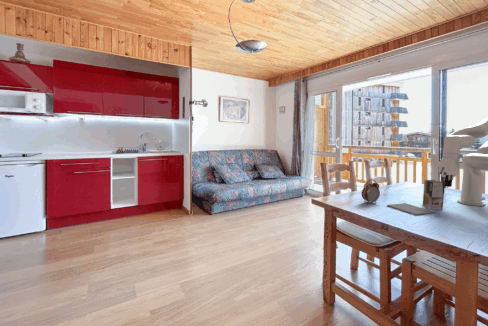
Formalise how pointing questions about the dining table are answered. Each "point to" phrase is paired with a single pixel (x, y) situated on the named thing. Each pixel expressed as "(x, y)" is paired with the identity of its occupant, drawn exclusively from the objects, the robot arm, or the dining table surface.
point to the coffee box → (433, 194)
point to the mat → (411, 209)
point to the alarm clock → (371, 192)
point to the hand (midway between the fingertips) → (447, 186)
